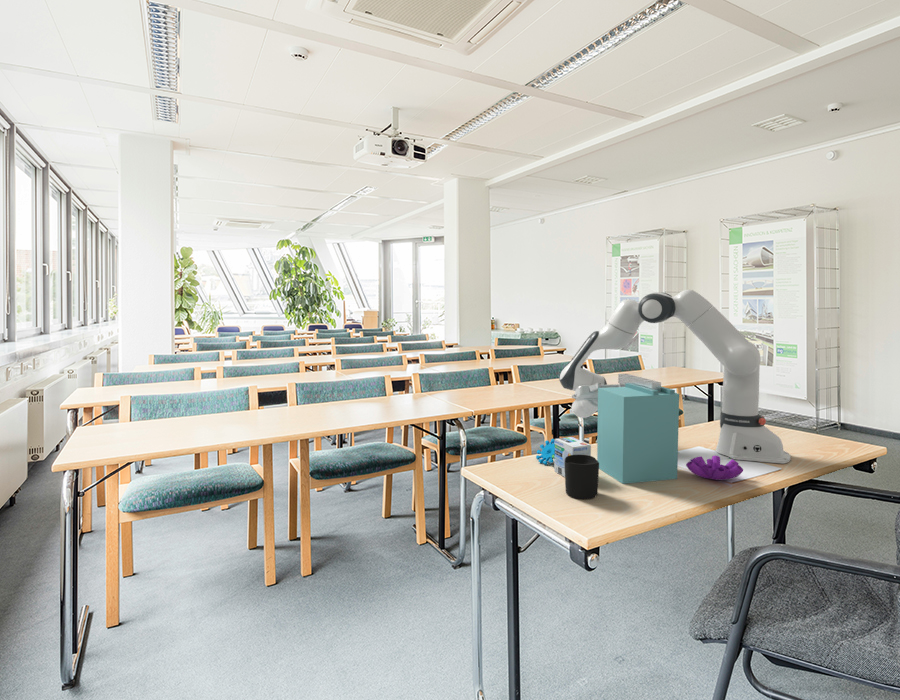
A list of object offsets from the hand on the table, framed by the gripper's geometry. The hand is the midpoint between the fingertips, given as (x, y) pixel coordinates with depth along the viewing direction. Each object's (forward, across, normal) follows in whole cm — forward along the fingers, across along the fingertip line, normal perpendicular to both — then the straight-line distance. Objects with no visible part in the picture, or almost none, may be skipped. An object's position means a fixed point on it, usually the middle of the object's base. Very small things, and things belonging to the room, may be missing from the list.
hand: (611, 384), depth 187 cm
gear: (-6, -26, +25) cm, 37 cm away
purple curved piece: (+18, +16, +38) cm, 45 cm away
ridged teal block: (+9, -4, +33) cm, 34 cm away
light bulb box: (+6, -24, +32) cm, 40 cm away
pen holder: (+20, -28, +40) cm, 52 cm away
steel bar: (+16, 0, +7) cm, 18 cm away
